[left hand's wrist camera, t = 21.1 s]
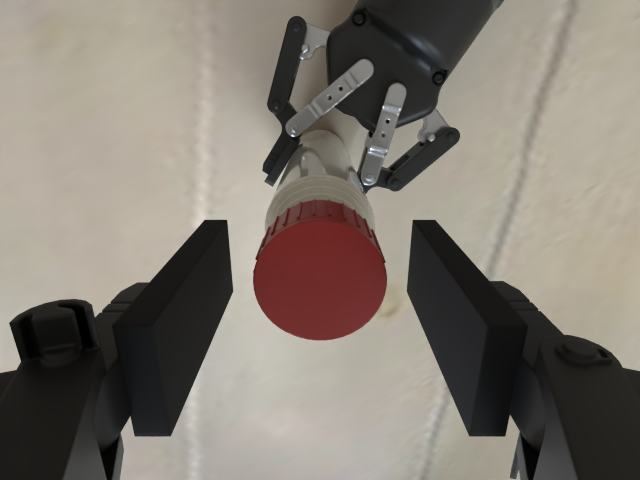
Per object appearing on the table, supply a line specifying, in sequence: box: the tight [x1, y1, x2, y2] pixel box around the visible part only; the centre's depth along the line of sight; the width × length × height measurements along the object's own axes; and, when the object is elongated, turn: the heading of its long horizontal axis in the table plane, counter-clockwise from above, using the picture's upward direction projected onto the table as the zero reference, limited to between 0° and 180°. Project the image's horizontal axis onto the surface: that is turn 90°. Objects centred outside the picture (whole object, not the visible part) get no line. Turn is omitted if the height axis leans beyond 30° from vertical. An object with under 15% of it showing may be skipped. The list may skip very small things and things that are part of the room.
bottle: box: [265, 130, 375, 234], centre depth 24 cm, size 5×5×24 cm
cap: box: [253, 199, 387, 340], centre depth 13 cm, size 4×4×2 cm
